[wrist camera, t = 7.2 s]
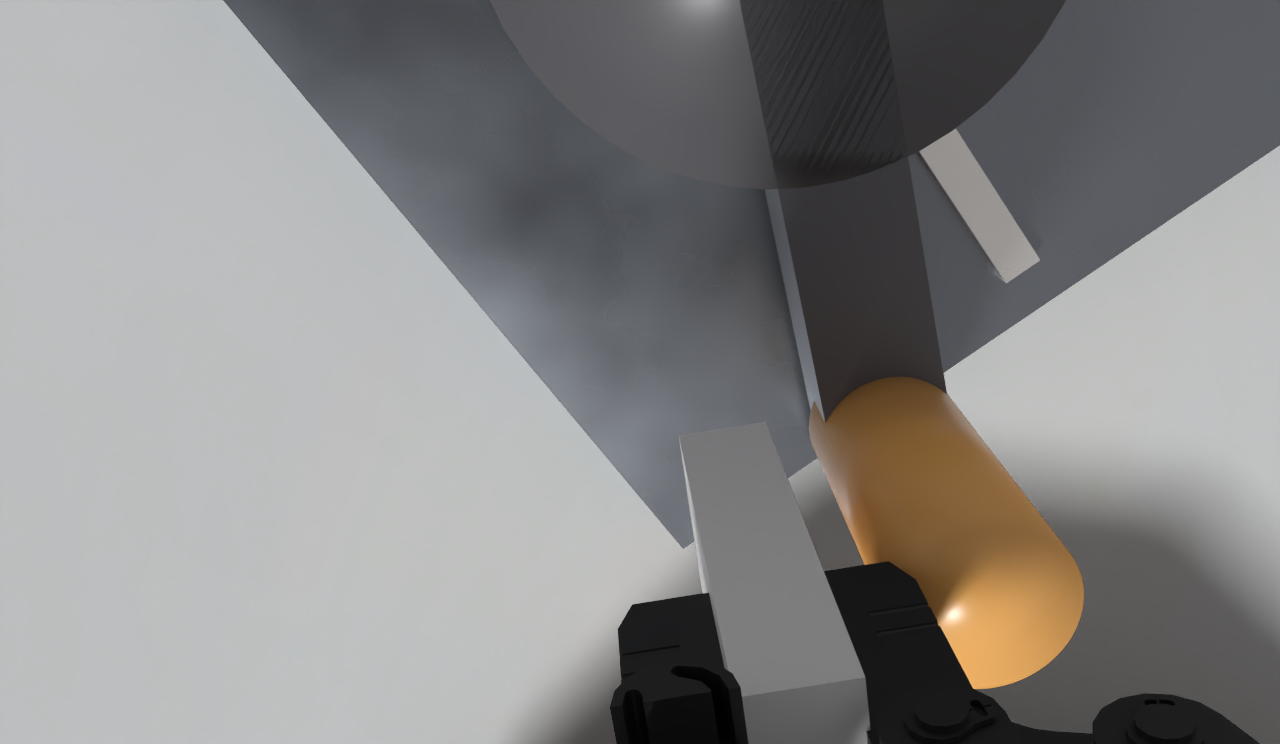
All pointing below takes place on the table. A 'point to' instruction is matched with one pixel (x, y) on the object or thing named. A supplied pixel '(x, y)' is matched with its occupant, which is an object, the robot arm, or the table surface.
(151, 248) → the table surface
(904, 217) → the domed crank handle
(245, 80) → the table surface
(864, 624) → the robot arm
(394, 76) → the base
